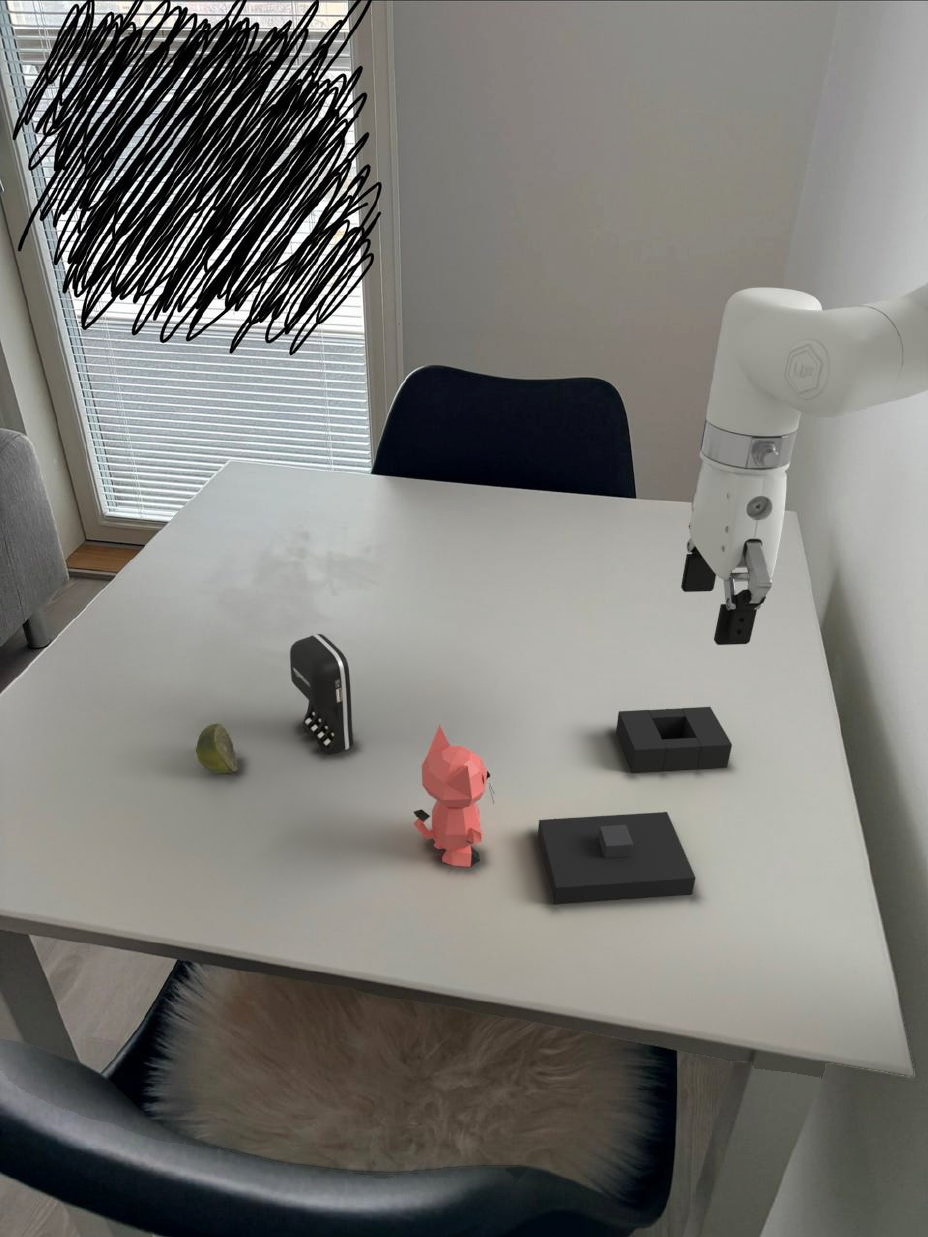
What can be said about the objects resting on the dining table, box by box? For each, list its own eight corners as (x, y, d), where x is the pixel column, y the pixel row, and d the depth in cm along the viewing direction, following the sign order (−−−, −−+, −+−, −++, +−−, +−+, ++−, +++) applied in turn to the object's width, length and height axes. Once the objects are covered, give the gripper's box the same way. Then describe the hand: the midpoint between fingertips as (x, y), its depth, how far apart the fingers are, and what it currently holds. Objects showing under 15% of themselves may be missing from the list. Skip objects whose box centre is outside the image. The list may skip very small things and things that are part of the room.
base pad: (664, 827, 82) (669, 799, 80) (692, 894, 75) (698, 865, 73) (537, 835, 80) (539, 807, 79) (554, 904, 74) (557, 874, 72)
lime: (227, 747, 91) (220, 708, 88) (254, 769, 88) (249, 729, 85) (188, 767, 88) (181, 728, 85) (216, 790, 85) (209, 750, 82)
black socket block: (705, 728, 95) (710, 706, 93) (727, 767, 89) (732, 744, 88) (615, 733, 94) (618, 711, 92) (631, 773, 88) (634, 749, 87)
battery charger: (292, 727, 94) (282, 637, 88) (324, 715, 96) (316, 626, 90) (323, 762, 89) (314, 669, 83) (355, 749, 91) (350, 656, 85)
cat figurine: (503, 865, 77) (509, 759, 71) (431, 889, 75) (431, 781, 69) (470, 813, 83) (473, 711, 77) (402, 834, 80) (399, 730, 74)
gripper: (834, 481, 68) (787, 665, 76) (751, 411, 82) (720, 571, 91) (741, 483, 67) (704, 667, 76) (674, 411, 82) (650, 573, 91)
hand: (713, 615), depth 84 cm, fingers open, 9 cm apart
